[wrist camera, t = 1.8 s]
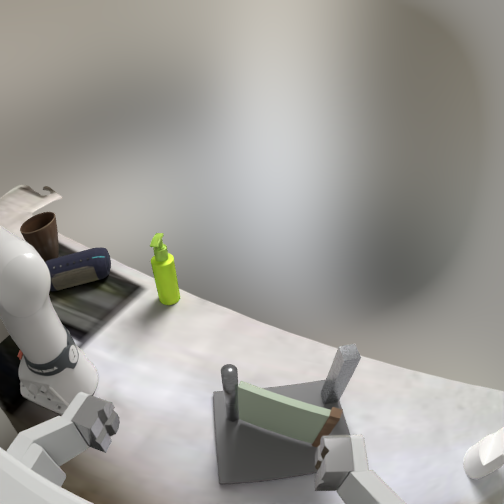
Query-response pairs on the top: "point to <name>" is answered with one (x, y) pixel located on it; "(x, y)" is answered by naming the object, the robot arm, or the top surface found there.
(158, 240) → the soap dispenser
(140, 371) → the top surface
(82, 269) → the portable speaker
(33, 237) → the plant pot
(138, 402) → the top surface
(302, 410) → the gate leaf
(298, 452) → the gate frame
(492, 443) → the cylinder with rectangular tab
